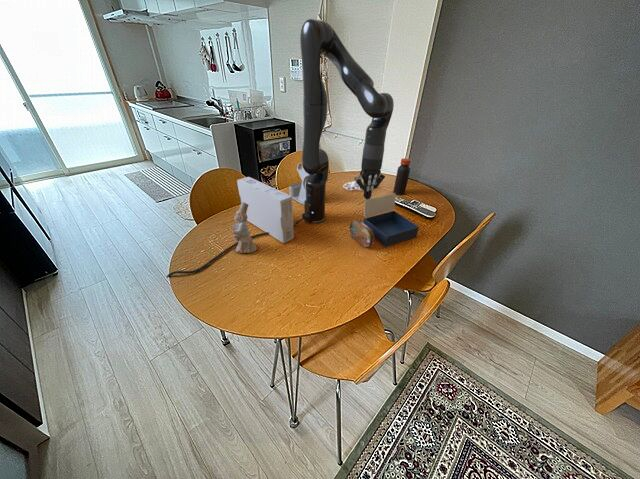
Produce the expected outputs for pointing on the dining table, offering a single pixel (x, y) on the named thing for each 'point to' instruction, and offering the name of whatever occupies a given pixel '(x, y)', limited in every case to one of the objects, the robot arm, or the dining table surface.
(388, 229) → the carton
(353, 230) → the tin
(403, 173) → the bottle
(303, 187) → the phone holder
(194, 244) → the dining table surface
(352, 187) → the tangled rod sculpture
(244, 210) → the figurine
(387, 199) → the carton flap
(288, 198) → the packaging
